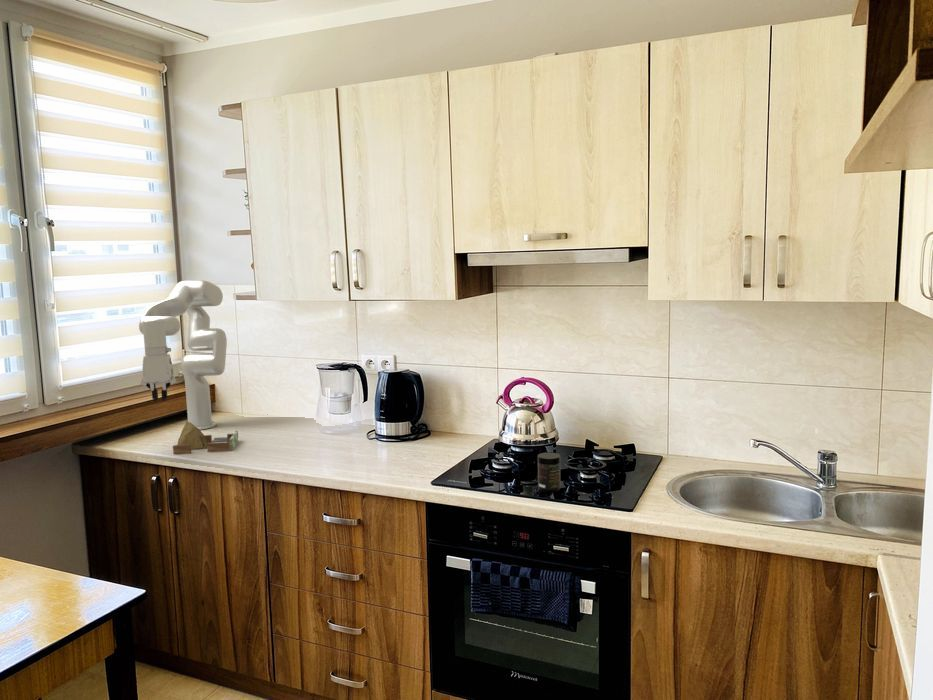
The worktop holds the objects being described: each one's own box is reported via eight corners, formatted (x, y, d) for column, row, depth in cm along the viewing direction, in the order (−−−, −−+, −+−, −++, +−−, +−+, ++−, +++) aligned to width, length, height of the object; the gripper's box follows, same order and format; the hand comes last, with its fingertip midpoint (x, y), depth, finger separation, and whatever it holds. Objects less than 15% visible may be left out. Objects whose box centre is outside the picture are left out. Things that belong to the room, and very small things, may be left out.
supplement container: (565, 488, 214) (564, 455, 213) (551, 494, 209) (551, 460, 208) (546, 484, 219) (546, 451, 217) (533, 489, 214) (533, 456, 212)
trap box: (186, 440, 282) (185, 430, 281) (240, 436, 285) (240, 427, 284) (173, 454, 262) (172, 443, 261) (232, 450, 265) (231, 439, 265)
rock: (216, 439, 273) (198, 433, 277) (206, 425, 267) (187, 419, 271) (197, 461, 266) (179, 454, 271) (186, 447, 261) (168, 441, 265)
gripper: (181, 349, 268) (184, 397, 270) (136, 351, 265) (140, 399, 268) (176, 352, 261) (180, 401, 263) (130, 354, 258) (134, 403, 261)
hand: (160, 400), depth 265 cm, fingers closed
